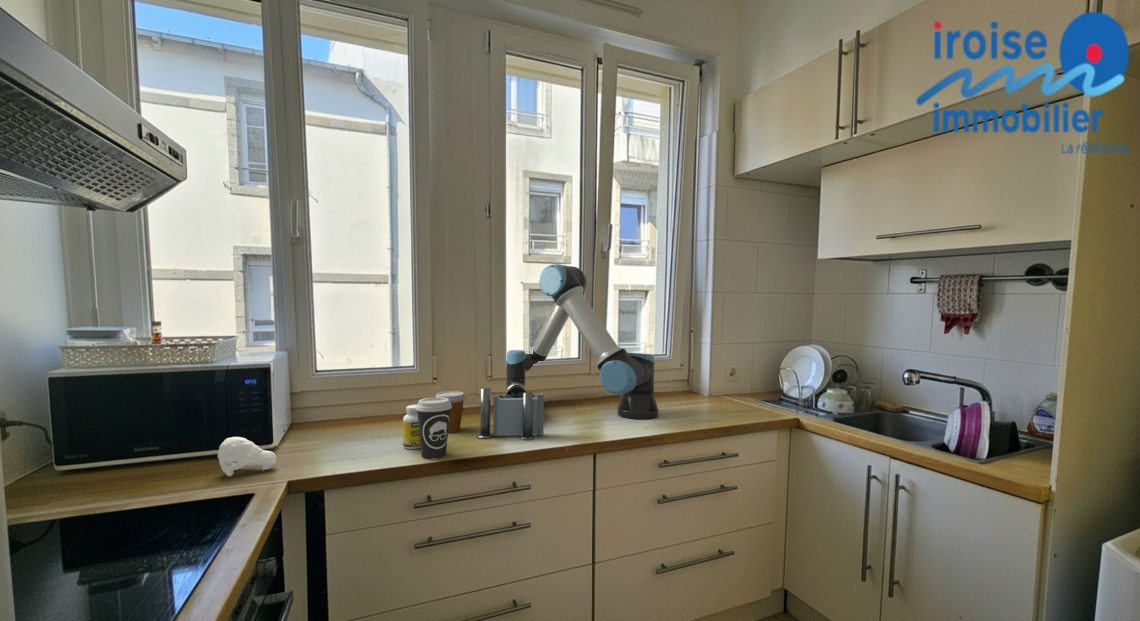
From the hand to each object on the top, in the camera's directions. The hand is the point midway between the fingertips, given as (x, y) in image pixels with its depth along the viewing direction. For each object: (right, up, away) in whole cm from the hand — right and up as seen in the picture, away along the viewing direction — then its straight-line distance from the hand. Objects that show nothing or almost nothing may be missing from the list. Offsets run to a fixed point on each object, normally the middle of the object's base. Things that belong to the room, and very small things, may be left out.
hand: (517, 408), depth 154 cm
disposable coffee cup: (-22, -7, -2) cm, 23 cm away
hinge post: (-9, -7, -9) cm, 14 cm away
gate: (+1, -6, -8) cm, 10 cm away
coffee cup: (-20, -7, -26) cm, 34 cm away
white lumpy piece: (-62, -7, -39) cm, 74 cm away
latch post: (+4, -7, -10) cm, 13 cm away
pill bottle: (-28, -7, -19) cm, 34 cm away
